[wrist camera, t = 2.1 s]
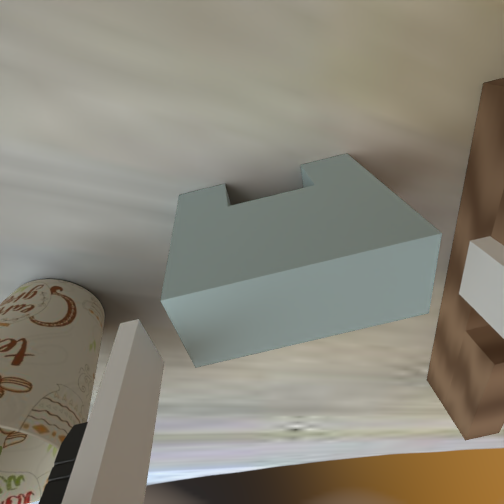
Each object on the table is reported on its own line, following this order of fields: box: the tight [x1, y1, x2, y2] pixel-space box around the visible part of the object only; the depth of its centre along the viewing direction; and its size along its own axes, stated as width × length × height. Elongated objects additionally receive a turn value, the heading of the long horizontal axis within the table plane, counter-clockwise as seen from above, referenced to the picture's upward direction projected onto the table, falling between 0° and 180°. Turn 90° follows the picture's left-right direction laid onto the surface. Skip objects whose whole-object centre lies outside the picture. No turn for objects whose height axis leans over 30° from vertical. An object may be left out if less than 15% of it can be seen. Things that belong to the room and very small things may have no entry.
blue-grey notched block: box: [160, 154, 442, 368], centre depth 16 cm, size 4×10×9 cm, turn 102°
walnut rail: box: [427, 78, 504, 440], centre depth 22 cm, size 28×3×6 cm, turn 12°
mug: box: [0, 279, 105, 504], centre depth 19 cm, size 8×13×10 cm, turn 159°
